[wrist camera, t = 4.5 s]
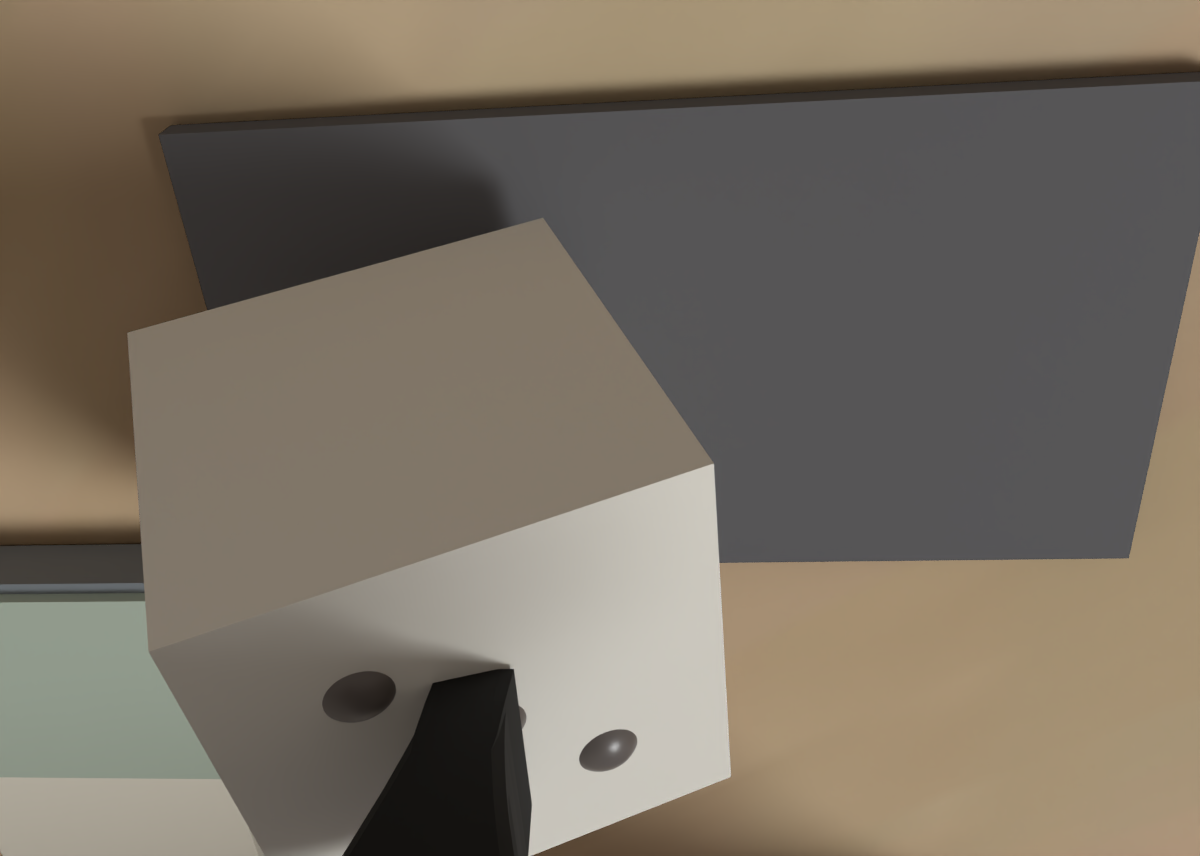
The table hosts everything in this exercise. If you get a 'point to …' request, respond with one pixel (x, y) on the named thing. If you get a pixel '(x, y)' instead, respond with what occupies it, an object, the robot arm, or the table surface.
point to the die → (428, 538)
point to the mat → (803, 282)
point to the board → (97, 719)
